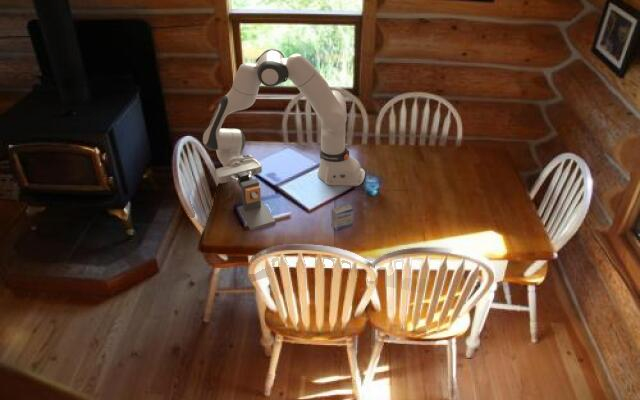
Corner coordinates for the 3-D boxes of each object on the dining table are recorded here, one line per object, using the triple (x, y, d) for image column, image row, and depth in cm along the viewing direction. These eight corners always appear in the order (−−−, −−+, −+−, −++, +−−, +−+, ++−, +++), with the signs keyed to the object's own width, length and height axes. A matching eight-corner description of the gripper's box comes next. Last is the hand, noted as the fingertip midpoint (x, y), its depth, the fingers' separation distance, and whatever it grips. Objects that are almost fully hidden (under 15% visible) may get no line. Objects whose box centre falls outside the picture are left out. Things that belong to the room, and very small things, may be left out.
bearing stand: (237, 209, 226) (234, 182, 217) (261, 202, 230) (259, 175, 221) (250, 231, 214) (247, 202, 205) (275, 223, 218) (273, 195, 209)
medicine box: (336, 230, 214) (336, 214, 209) (330, 224, 218) (331, 208, 212) (352, 225, 217) (353, 208, 212) (347, 219, 221) (348, 202, 215)
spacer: (245, 201, 219) (244, 188, 215) (259, 197, 221) (258, 185, 217) (247, 203, 217) (246, 190, 214) (260, 200, 220) (260, 187, 216)
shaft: (239, 184, 227) (237, 173, 223) (247, 182, 228) (246, 171, 225) (252, 205, 215) (251, 193, 211) (261, 202, 216) (260, 191, 213)
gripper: (210, 164, 228) (220, 180, 218) (254, 153, 236) (266, 168, 226) (212, 176, 232) (222, 192, 222) (255, 165, 239) (266, 180, 229)
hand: (244, 180), depth 224 cm, fingers closed on shaft, 4 cm apart
